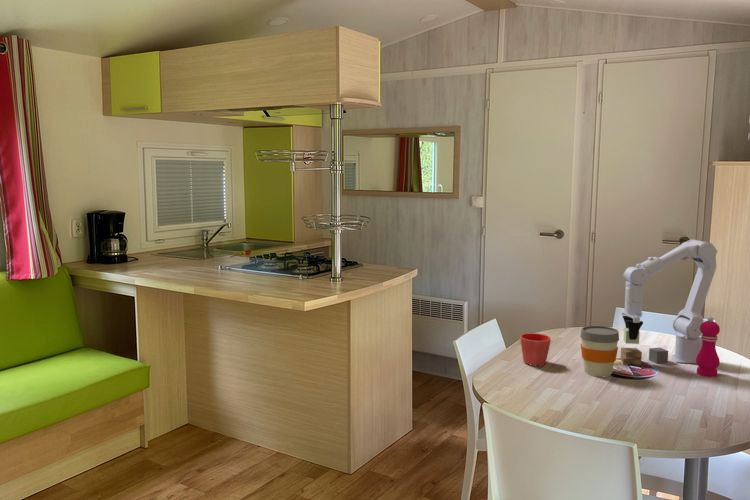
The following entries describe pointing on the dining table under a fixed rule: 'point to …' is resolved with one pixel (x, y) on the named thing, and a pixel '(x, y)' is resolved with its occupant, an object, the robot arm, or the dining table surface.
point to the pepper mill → (708, 349)
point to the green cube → (627, 339)
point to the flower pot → (535, 348)
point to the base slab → (631, 361)
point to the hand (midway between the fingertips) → (631, 337)
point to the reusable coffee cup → (599, 349)
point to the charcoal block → (658, 355)
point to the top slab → (631, 353)
